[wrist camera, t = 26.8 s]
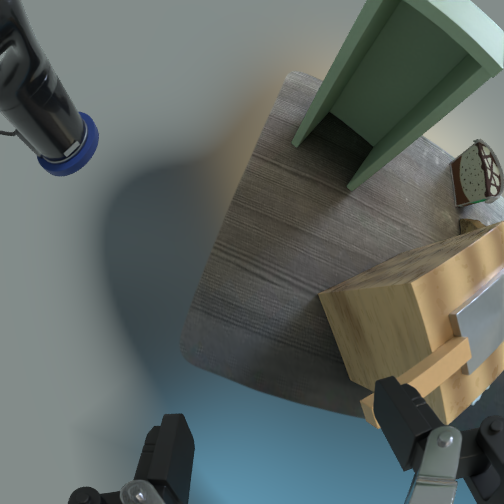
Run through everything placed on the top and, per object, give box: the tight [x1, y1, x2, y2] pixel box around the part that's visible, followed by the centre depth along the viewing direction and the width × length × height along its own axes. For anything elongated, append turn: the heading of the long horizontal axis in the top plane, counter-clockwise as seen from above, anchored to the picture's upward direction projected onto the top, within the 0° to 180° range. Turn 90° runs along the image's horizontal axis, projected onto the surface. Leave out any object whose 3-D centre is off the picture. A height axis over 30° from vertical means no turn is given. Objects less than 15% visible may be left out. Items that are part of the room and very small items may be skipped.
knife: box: [360, 268, 504, 429], centre depth 20 cm, size 23×6×2 cm, turn 112°
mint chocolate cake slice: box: [450, 139, 504, 208], centre depth 44 cm, size 12×6×10 cm, turn 174°
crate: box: [318, 221, 504, 425], centre depth 32 cm, size 16×14×22 cm
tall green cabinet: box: [291, 0, 504, 191], centre depth 30 cm, size 12×12×32 cm
